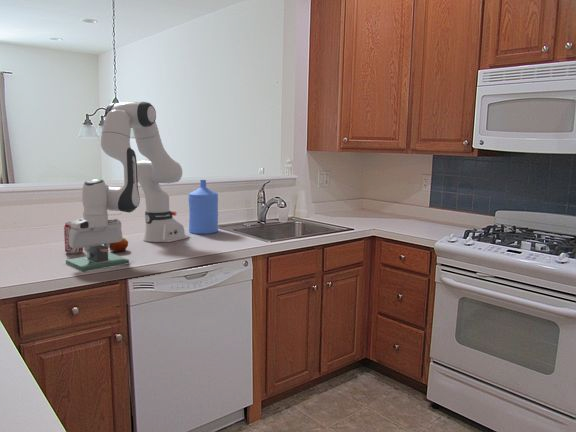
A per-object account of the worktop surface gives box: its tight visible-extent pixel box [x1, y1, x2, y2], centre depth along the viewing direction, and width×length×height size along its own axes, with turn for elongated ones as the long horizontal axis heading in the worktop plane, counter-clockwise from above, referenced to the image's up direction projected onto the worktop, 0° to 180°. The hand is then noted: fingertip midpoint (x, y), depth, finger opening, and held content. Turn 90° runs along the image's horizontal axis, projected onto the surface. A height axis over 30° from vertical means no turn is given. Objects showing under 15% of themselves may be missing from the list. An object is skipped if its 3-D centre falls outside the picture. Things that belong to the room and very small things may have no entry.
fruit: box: [109, 237, 129, 254], centre depth 204 cm, size 8×8×8 cm
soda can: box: [63, 221, 84, 255], centre depth 200 cm, size 7×7×13 cm
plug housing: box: [87, 244, 109, 263], centre depth 182 cm, size 4×12×6 cm, turn 47°
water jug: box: [187, 179, 219, 235], centre depth 250 cm, size 16×16×28 cm
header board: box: [65, 252, 130, 273], centre depth 183 cm, size 18×16×6 cm
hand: (97, 256), depth 183 cm, fingers closed on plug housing, 4 cm apart
